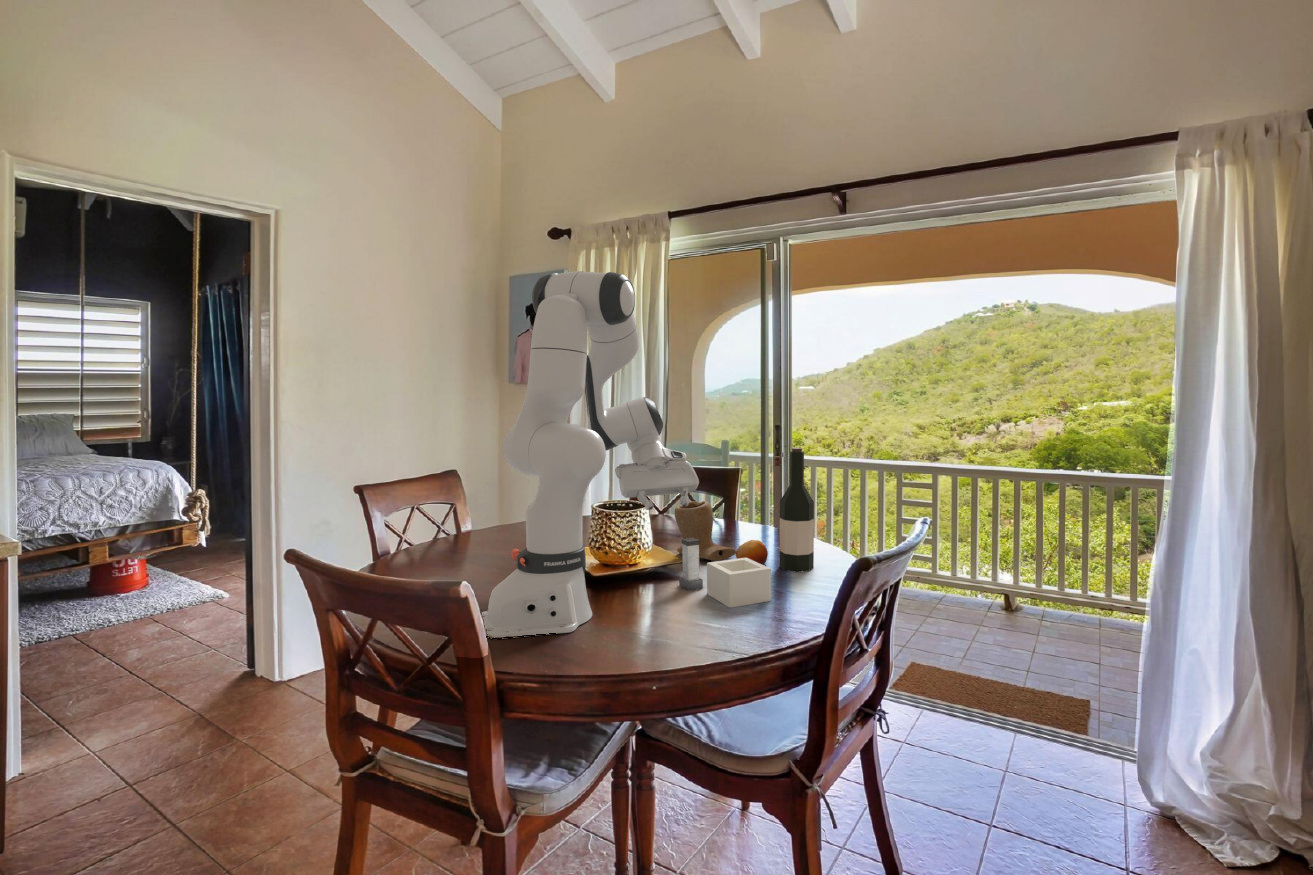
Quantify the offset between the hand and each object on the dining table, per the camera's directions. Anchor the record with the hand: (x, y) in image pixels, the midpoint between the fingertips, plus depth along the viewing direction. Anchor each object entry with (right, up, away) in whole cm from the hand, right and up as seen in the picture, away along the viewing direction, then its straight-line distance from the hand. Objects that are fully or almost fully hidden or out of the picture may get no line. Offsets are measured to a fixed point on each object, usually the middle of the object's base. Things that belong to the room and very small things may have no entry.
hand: (668, 506), depth 161 cm
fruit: (+21, -16, +6) cm, 27 cm away
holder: (+15, -18, -17) cm, 29 cm away
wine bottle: (+32, -16, +5) cm, 36 cm away
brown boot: (+9, -15, +16) cm, 24 cm away
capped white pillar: (+5, -17, -10) cm, 21 cm away
